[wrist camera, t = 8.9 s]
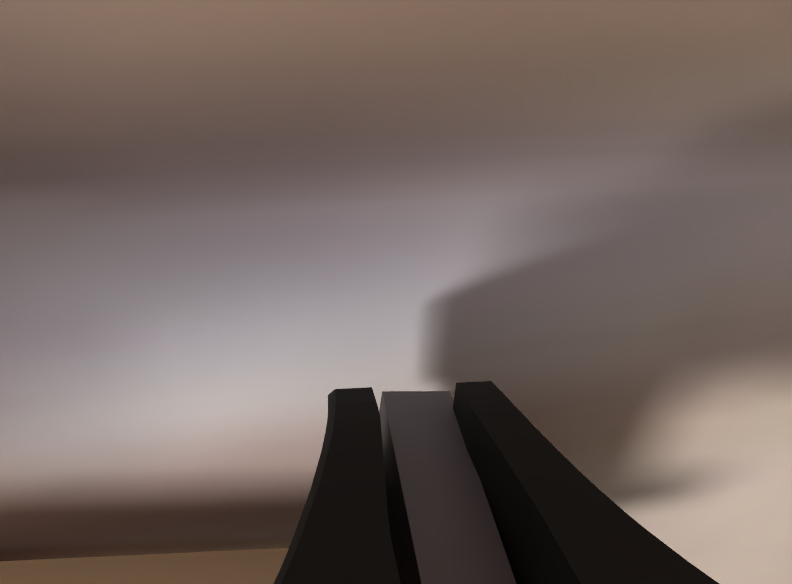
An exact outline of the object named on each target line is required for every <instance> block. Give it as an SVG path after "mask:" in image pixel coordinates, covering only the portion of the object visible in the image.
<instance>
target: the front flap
mask: <svg viewBox="0 0 792 584" xmlns="http://www.w3.org/2000/svg"><path fill="white" fill-rule="evenodd" d="M453 404H454V403H453V400H452V397H451V394H450V391H391V392H382V397H381V404H380V411H379V414H380V420H381V432H382V445H383V457H384V470H385V483H386V496H387V509H388V520H389V527H390V534H391V541H392V546H393V551H394V556H395V560H396V565H397V570H398V574H399V579H400V583H401V584H516V581H515V578H514V575H513V572H512V570H511V567H510V564H509V561H508V558H507V555H506V552H505V549H504V547H503V544H502V541H501V538H500V535H499V532H498V529H497V526H496V524H495V521H494V518H493V515H492V512H491V509H490V506H489V503H488V500H487V498H486V495H485V492H484V489H483V486H482V483H481V480H480V478H479V475H478V473H477V471H476V469H475V467H474V464H473V462H472V460H471V458H470V456H469V454H468V451H467V448H466V446H465V443H464V440H463V437H462V434H461V431H460V428H459V425H458V422H457V419H456V416H455V413H454V410H453ZM288 549H289V548H268V549H247V550H226V551H205V552H184V553H163V554H143V555H122V556H101V557H80V558H59V559H38V560H17V561H0V584H274V582H275V579H276V577H277V575H278V573H279V571H280V568H281V566H282V564H283V561H284V559H285V557H286V554H287V552H288Z"/></svg>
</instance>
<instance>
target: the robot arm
mask: <svg viewBox="0 0 792 584" xmlns="http://www.w3.org/2000/svg"><path fill="white" fill-rule="evenodd" d="M453 410H454V413H455V416H456V419H457V422H458V425H459V428H460V431H461V434H462V437H463V440H464V443H465V446H466V448H467V451H468V454H469V456H470V458H471V460H472V462H473V464H474V467H475V469H476V471H477V473H478V475H479V478H480V480H481V483H482V486H483V489H484V492H485V495H486V498H487V500H488V503H489V506H490V509H491V512H492V515H493V518H494V521H495V524H496V526H497V529H498V532H499V535H500V538H501V541H502V544H503V547H504V549H505V552H506V555H507V558H508V561H509V564H510V567H511V570H512V572H513V575H514V578H515V581H516V584H719V583H718V582H716V581H715V580H713V579H712V578H710V577H709V576H707V575H706V574H705V573H703V572H702V571H700V570H699V569H698V568H696V567H695V566H693V565H692V564H691V563H689V562H688V561H687V560H685V559H684V558H683V557H681V556H680V555H679V554H677V553H676V552H675V551H673V550H672V549H671V548H670V547H668V546H667V545H666V544H664V543H663V542H662V541H660V540H659V539H658V538H656V537H655V536H654V535H652V534H651V533H650V532H649V531H647V530H646V529H645V528H644V527H642V526H641V525H640V524H639V523H637V522H636V521H635V520H634V519H633V518H631V517H630V516H629V515H628V514H627V513H625V512H624V511H623V510H622V509H621V508H620V507H619V506H617V505H616V504H615V503H614V502H613V501H612V500H610V499H609V498H608V497H607V496H606V495H605V494H604V493H602V492H601V491H600V490H599V489H598V488H597V487H596V486H595V485H594V484H592V483H591V482H590V481H589V480H588V479H587V478H586V477H585V476H584V475H583V474H582V473H581V472H580V471H579V470H578V469H577V468H576V467H574V466H573V465H572V464H571V463H570V462H569V461H568V460H567V459H566V458H565V457H564V456H563V455H562V454H561V453H560V452H559V451H558V450H557V449H556V448H555V447H554V446H553V445H552V444H551V443H550V442H549V441H548V440H547V439H546V438H545V437H544V436H543V435H542V434H541V433H540V432H539V431H538V430H537V429H536V428H535V427H534V426H533V425H532V423H531V422H530V421H529V420H528V419H527V418H526V417H525V416H524V415H523V414H522V413H521V412H520V411H519V410H518V409H517V408H516V407H515V406H514V405H513V403H512V402H511V401H510V400H509V399H508V398H507V397H506V396H505V395H504V394H503V393H502V392H501V391H500V390H499V389H498V388H497V387H496V386H495V385H494V384H493V383H492V382H491V381H485V382H466V383H456V389H455V397H454V404H453ZM274 584H401V583H400V579H399V574H398V570H397V565H396V560H395V556H394V551H393V546H392V541H391V534H390V527H389V520H388V509H387V496H386V483H385V470H384V457H383V445H382V432H381V420H380V414H379V410H378V407H377V403H376V399H375V396H374V393H373V390H372V387H370V388H351V389H335V390H334V391H332V392H331V393H330V394H329V395H328V420H327V427H326V433H325V437H324V442H323V447H322V451H321V455H320V459H319V462H318V466H317V469H316V473H315V476H314V480H313V483H312V487H311V490H310V493H309V496H308V499H307V501H306V504H305V507H304V510H303V512H302V515H301V518H300V521H299V523H298V526H297V529H296V532H295V534H294V537H293V540H292V542H291V545H290V547H289V549H288V552H287V554H286V557H285V559H284V561H283V564H282V566H281V568H280V571H279V573H278V575H277V577H276V579H275V582H274Z"/></svg>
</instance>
